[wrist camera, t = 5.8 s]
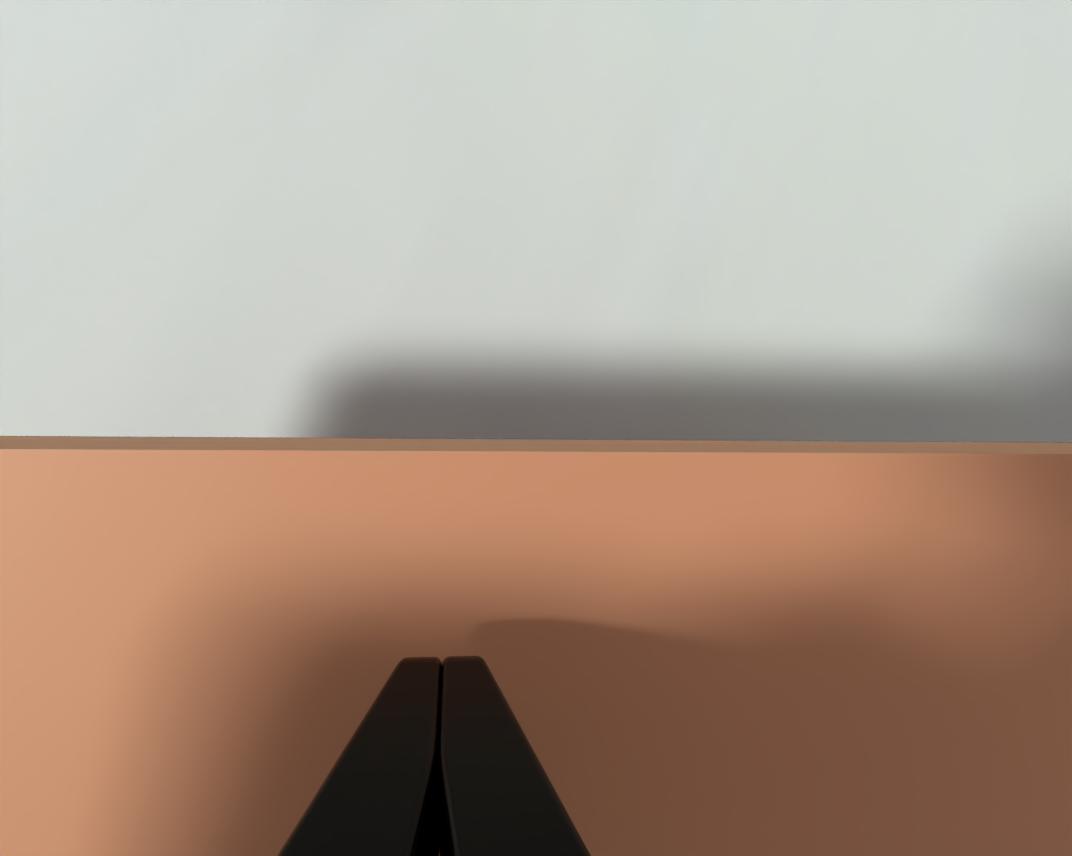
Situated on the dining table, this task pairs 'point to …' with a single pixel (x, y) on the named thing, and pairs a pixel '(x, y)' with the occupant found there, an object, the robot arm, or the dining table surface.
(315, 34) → the dining table surface
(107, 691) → the panel
